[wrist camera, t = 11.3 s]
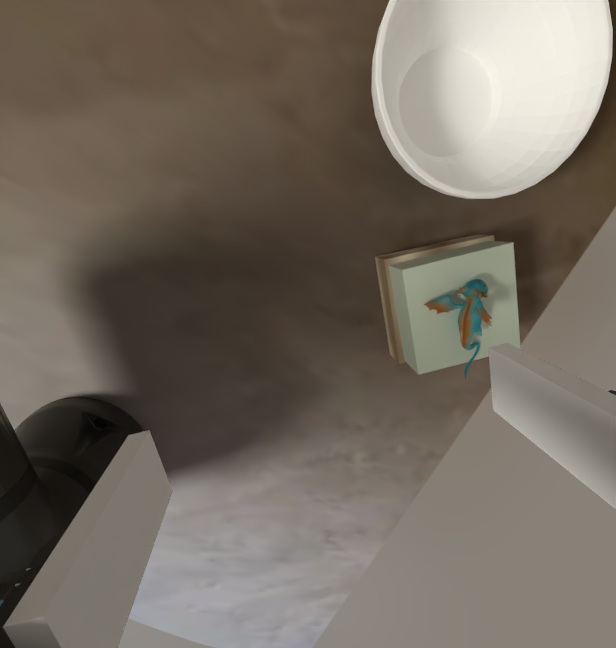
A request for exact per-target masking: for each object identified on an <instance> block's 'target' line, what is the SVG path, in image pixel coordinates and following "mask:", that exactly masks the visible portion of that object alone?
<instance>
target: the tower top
mask: <svg viewBox="0 0 616 648" xmlns="http://www.w3.org/2000/svg"><path fill="white" fill-rule="evenodd" d="M389 270H390V276H391V282H392V288H393V294H394V300H395V306H396V312H397V318H398V324H399V330H400V336H401V342H402V348H403V354H404V360H405V362H406V363H407V364H408V365H409V366H410V367H411V368H412V369H413V370H414V371H415V372H416V373H417V374H418V375H420V374H424V373H427V372H431V371H435V370H439V369H443V368H447V367H451V366H454V365H458V364H462V363H466V362H469V361H470V359H471V358H472V357H473V355H474V353H475V352H476V350H477V345H476V346H475V347H474V348H473V349H472V350H466V349H464V348H463V347H462V344H461V341H460V333H459V327H458V316H459V313H460V310H461V308H458V309H455V310H452V311H449V312H448V313H447V312H442V313H439V314H437V310H435V309H433V310H429V308H428V307H427V306H426V305H424V304H425V303H428V302H431V301H433V300H436V299H438V298H441V297H443V296H445V295H450V296H451V300H452V302H453V303H455V304H463V303H464V302H465V301H466V298H465V296H464V295H463V294H461V293H460V294H454V292H456V290H459V288H462V287H464V286H465V285H466V284H467V283H468V282H469V281H471V280H474V279H481V280H483V281H484V282H485V283H486V285H487V287H488V292H487V296H488V297H486V298H485V297H483V298H481V299H480V300H481V301H482V304H483V307H484V309H485V310H486V312H487V313H488V314H489V315H490V316H491V317H492V319H489V320H490V322H491V323H489V322H488V323H489V324H490V325H492V326H490V325H489V324H487V323H486V322H484V321H483V319H482V321H481V329H482V336H479V335H477V333H476V332H475V333H474V334H473V336H472V338H471V341H470V344H472V343H474V342H479V343H480V348H479V351H478V353H477V355H476V356H475V358H474V359H473V360H472V361H474V360H478V359H481V358H485V357H489V349H488V347H492V346H497V345H501V344H505V343H508V344H510V345H513V346H515V347H517V348H519V349H520V334H519V319H518V304H517V289H516V274H515V259H514V244H513V242H502V241H485V242H481V243H477V244H473V245H469V246H465V247H461V248H457V249H453V250H449V251H445V252H441V253H437V254H433V255H429V256H424V257H420V258H416V259H412V260H408V261H404V262H400V263H396V264H392V265H389Z"/></svg>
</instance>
